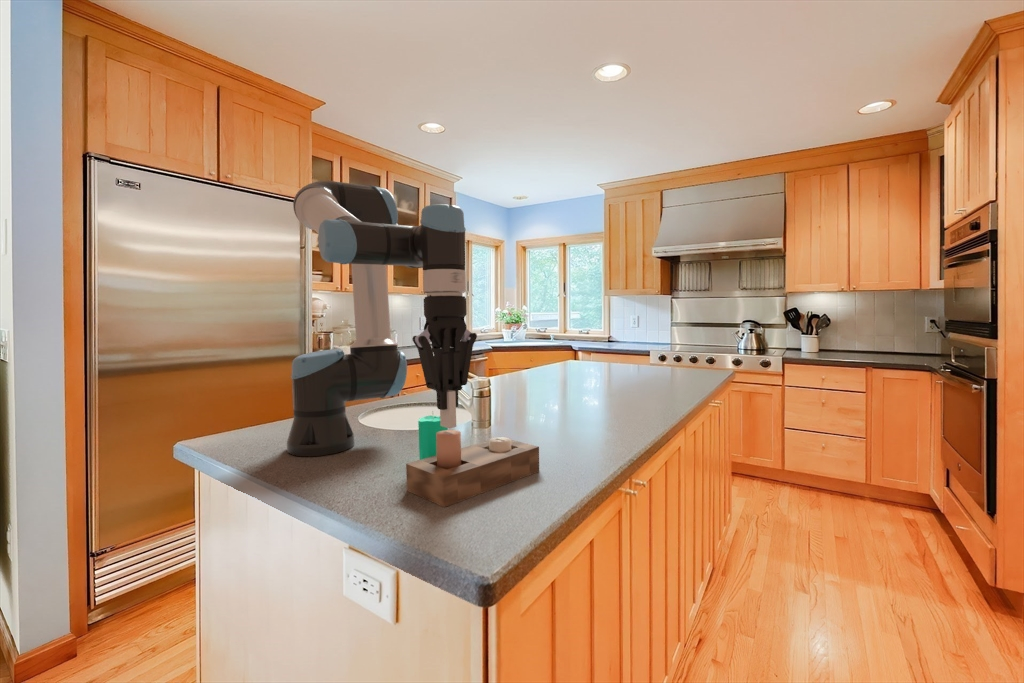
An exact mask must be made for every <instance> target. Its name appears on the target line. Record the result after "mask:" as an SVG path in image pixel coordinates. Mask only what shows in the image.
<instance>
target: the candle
mask: <svg viewBox="0 0 1024 683" xmlns="http://www.w3.org/2000/svg"><path fill="white" fill-rule="evenodd" d="M432 413H434V411H433V410H432ZM417 422H418V453H419V455H418V456H419V458H418V459H419V460H421V459H425V458H429V457H432V456H436V455H437V449H436V433H437V432H439V431H444V430H449V428H446V427H442V426H440V416H437V415H436V416H435V415H426V416H423V417H420V418H419V419H418V421H417Z"/></svg>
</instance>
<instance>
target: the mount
mask: <svg viewBox="0 0 1024 683" xmlns="http://www.w3.org/2000/svg"><path fill="white" fill-rule="evenodd" d="M405 471H406V491H407V492H408V493H409V492H410V493H411V494H413V495H415V496H418V497H419V498H423V499H425V500H427V501H429V502H432V503H434V504H437V505H438V506H441V507H443V508H446V507H448V506H451V505H452V506H453V504H457V503H460V502H462V501H464V500H467V499H470V498H472V497H475V496H478V495H481V494H483V493H485V492H488V491H489V492H490V490H491V491H492V490H493V489H496V488H498V487H499V488H500V487H502V486H504V485H506V484H507V485H508V484H509V483H512V482H515V481H517V480H519V479H523V478H525V477H528V476H530V475H533V474H536V473H538V472H540V446H537V445H534V444H529V443H525V442H521V441H517V440H513V439H511V450H508V451H505V452H502V453H499V452H495V451H491V450H489V440H487V441H483V442H479V443H476V444H473V445H469V446H465V447H461V465H460V466H457V467H453V468H450V469H447V470H446V469H444V468H441V467H438V466H437V455H436V456H432V457H429V458H425V459H421V460H420V459H419V460H415V461H414V460H413V461H411V462H408V463H406V464H405Z"/></svg>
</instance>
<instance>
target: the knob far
mask: <svg viewBox="0 0 1024 683" xmlns="http://www.w3.org/2000/svg"><path fill="white" fill-rule="evenodd" d="M511 440H512V439H511V438H509V437H505V436H502V437H501V436H498V437H491V438H490V439H489V440H488V441H489V450H491V451H495V452H499V453H502V452H505V451H508V450H511Z"/></svg>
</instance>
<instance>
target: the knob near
mask: <svg viewBox="0 0 1024 683" xmlns="http://www.w3.org/2000/svg"><path fill="white" fill-rule="evenodd" d="M461 433H462V432H461V431H459V430H455V429H448V430H444V431H439V432H437V433H436V449H437V466H438V467H441V468H444V469H446V470H447V469H450V468H453V467H457V466H460V465H461V448H462V441H461V440H462V437H461V436H462V435H461Z"/></svg>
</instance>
